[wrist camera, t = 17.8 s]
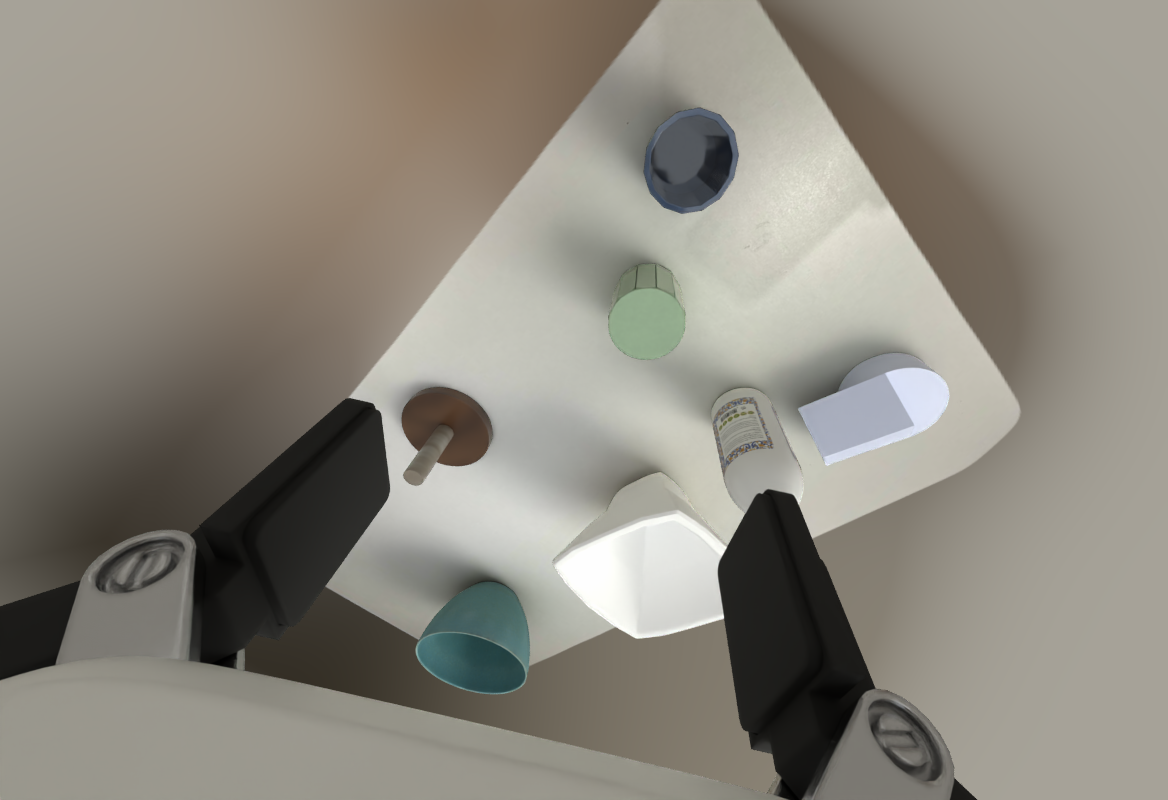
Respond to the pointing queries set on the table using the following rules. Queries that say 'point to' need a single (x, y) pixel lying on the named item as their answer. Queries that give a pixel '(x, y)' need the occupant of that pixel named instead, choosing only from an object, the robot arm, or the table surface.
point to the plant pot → (478, 641)
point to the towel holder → (444, 431)
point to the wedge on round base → (876, 406)
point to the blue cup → (691, 160)
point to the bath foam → (753, 447)
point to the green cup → (647, 312)
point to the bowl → (647, 561)
